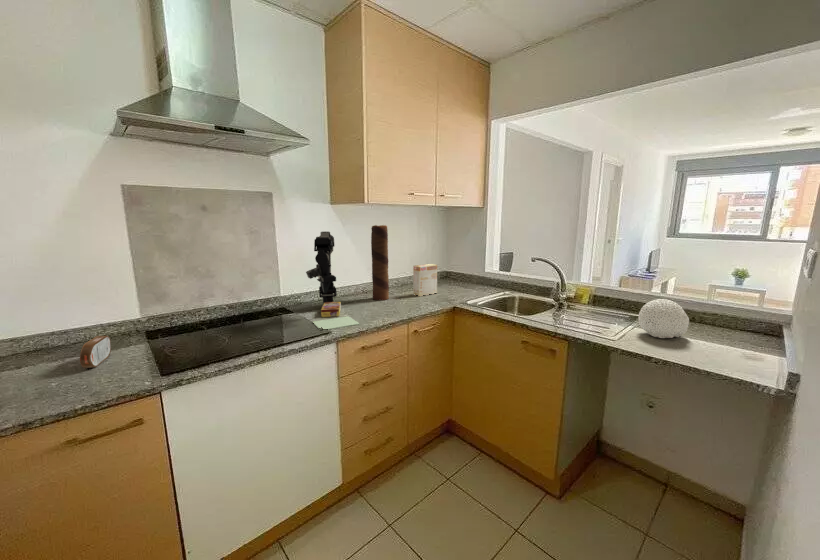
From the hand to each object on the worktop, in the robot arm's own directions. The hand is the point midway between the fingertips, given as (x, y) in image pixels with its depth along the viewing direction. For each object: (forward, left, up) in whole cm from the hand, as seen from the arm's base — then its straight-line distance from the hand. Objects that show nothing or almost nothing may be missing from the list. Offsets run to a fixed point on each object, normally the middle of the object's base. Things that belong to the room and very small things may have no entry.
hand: (325, 293), depth 163 cm
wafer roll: (-19, +40, -12) cm, 46 cm away
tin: (+16, -82, -12) cm, 85 cm away
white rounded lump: (+100, +113, -12) cm, 152 cm away
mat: (+15, 0, -12) cm, 19 cm away
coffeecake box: (-16, +71, -12) cm, 74 cm away
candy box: (+4, +1, -9) cm, 10 cm away
